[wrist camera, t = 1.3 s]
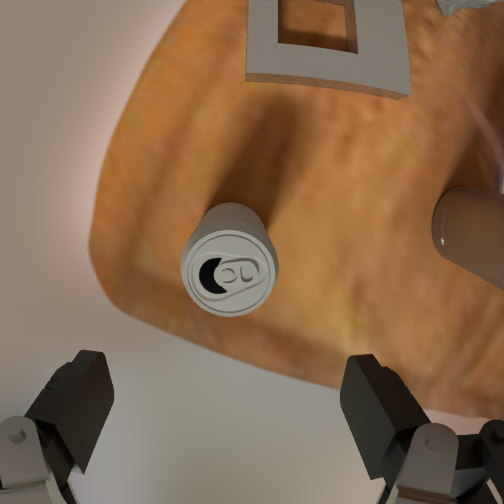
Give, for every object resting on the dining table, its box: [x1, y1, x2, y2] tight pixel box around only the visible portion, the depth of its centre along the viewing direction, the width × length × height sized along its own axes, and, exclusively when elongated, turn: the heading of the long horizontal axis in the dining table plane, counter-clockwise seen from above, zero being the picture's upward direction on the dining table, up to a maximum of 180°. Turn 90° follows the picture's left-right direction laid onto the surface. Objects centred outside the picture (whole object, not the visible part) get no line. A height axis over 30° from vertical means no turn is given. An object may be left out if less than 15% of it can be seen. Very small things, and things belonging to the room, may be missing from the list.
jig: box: [245, 0, 411, 100], centre depth 24 cm, size 16×14×3 cm
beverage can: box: [181, 202, 279, 317], centre depth 25 cm, size 6×6×12 cm
